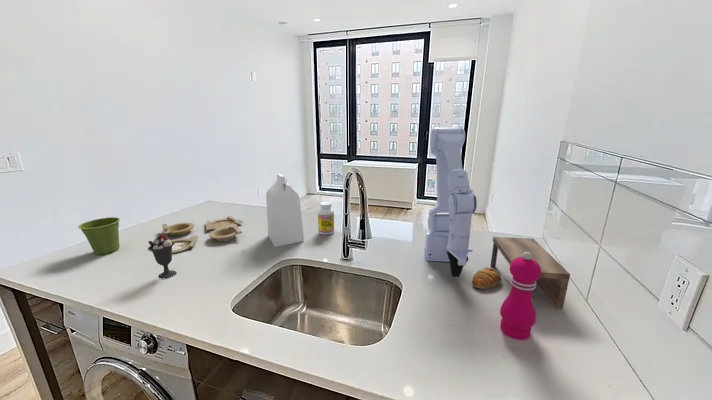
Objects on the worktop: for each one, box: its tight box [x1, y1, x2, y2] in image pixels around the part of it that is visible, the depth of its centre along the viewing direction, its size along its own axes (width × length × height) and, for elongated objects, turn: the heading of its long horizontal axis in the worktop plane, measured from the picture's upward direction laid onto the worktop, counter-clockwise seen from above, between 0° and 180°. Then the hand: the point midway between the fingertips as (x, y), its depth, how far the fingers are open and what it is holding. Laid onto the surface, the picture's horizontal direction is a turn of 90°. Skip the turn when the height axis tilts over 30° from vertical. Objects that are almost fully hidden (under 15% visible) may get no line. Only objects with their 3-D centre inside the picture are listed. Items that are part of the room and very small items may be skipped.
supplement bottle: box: [317, 201, 335, 236], centre depth 127 cm, size 7×7×13 cm
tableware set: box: [161, 215, 244, 255], centre depth 126 cm, size 35×29×4 cm
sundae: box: [147, 229, 177, 280], centre depth 94 cm, size 7×7×15 cm
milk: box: [265, 173, 305, 247], centre depth 119 cm, size 12×12×26 cm
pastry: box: [471, 267, 503, 291], centre depth 90 cm, size 9×7×4 cm
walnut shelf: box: [490, 236, 571, 310], centre depth 88 cm, size 12×22×10 cm, turn 172°
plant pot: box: [77, 216, 121, 256], centre depth 112 cm, size 12×12×11 cm
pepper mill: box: [499, 252, 541, 341], centre depth 68 cm, size 7×7×20 cm
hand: (455, 275), depth 92 cm, fingers closed
